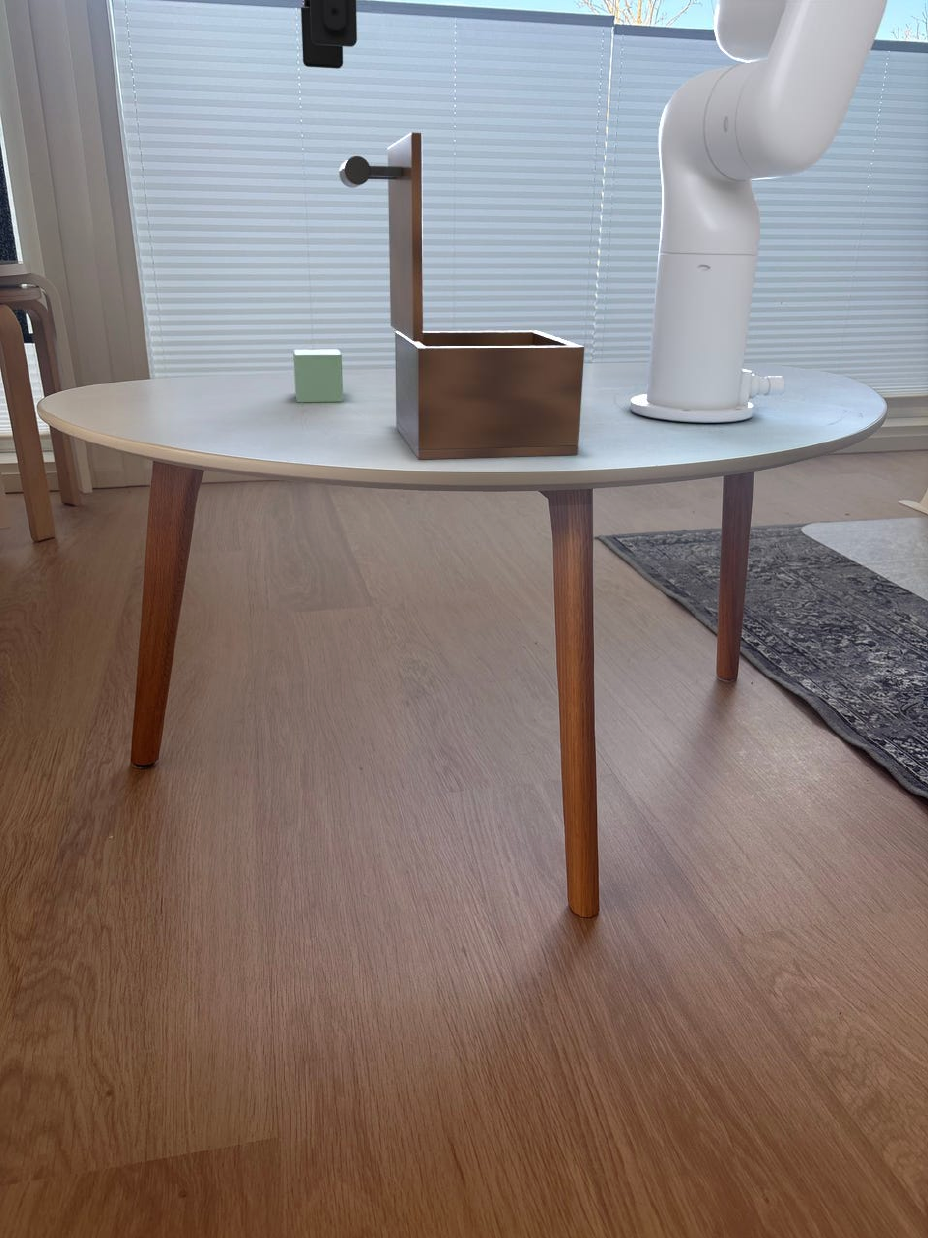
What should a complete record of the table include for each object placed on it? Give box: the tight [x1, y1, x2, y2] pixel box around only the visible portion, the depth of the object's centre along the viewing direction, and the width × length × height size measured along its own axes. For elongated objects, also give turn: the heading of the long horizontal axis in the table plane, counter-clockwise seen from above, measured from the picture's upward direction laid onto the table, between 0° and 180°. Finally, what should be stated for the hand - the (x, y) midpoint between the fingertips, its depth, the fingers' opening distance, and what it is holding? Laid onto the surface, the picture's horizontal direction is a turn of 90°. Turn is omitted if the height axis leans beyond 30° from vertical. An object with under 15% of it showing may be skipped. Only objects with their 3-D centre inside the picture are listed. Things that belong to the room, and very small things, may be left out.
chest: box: [394, 330, 585, 461], centre depth 82 cm, size 14×14×9 cm
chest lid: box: [338, 131, 424, 342], centre depth 75 cm, size 14×14×5 cm
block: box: [292, 348, 344, 403], centre depth 102 cm, size 5×5×5 cm
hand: (328, 56), depth 71 cm, fingers open, 9 cm apart
